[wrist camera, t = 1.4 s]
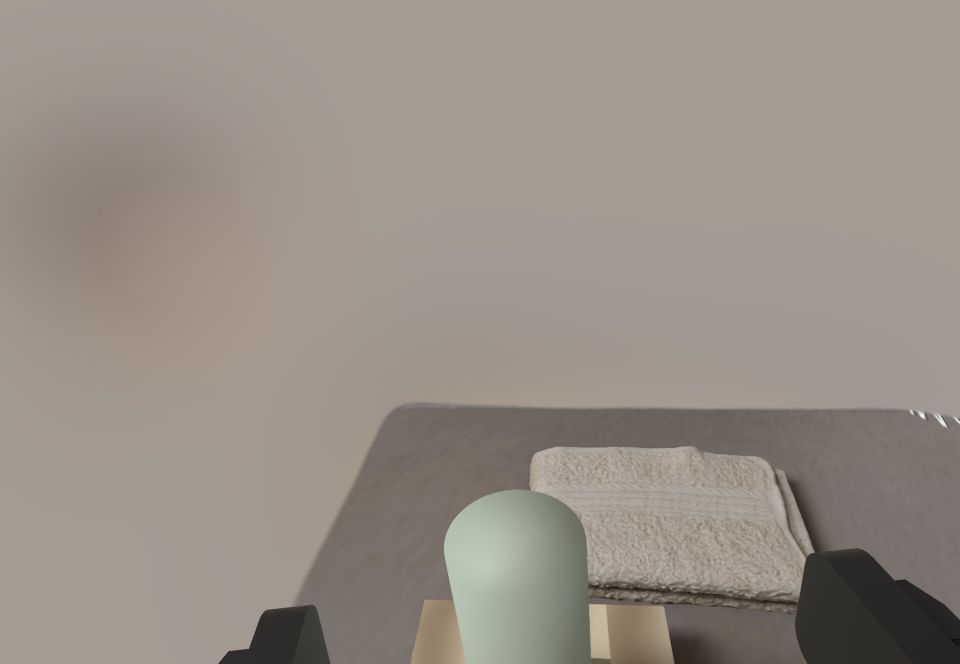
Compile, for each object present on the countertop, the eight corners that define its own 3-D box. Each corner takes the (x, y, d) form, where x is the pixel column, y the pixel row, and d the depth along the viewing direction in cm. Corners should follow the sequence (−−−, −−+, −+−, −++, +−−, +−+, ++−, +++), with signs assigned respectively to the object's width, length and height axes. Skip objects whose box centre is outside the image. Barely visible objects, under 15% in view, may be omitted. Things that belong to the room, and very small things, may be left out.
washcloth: (837, 626, 32) (847, 589, 31) (517, 604, 36) (512, 570, 34) (776, 478, 42) (781, 445, 41) (532, 472, 46) (529, 441, 44)
